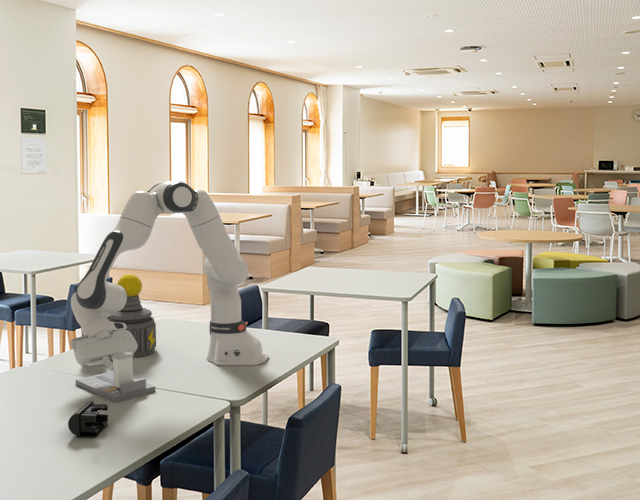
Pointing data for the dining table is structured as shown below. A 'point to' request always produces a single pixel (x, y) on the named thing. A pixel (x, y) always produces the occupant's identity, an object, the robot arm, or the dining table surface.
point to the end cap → (88, 420)
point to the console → (106, 388)
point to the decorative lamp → (136, 317)
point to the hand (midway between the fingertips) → (115, 368)
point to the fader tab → (122, 368)
